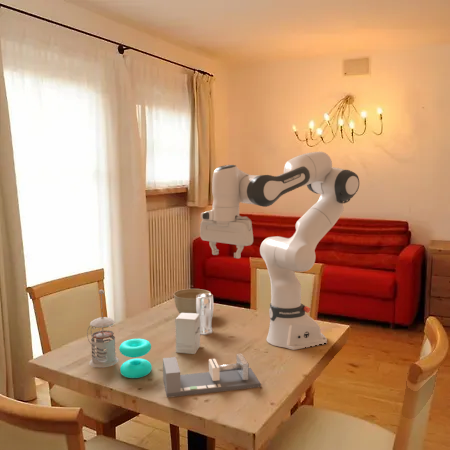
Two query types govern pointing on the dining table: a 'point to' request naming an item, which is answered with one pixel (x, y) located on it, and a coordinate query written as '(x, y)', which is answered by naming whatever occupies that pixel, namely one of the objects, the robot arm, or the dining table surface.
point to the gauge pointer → (214, 369)
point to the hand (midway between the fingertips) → (226, 256)
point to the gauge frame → (202, 381)
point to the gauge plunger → (237, 367)
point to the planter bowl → (187, 299)
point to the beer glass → (205, 312)
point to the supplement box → (187, 333)
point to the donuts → (136, 366)
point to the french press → (102, 342)
